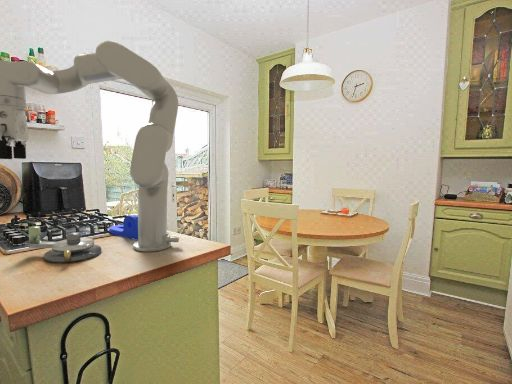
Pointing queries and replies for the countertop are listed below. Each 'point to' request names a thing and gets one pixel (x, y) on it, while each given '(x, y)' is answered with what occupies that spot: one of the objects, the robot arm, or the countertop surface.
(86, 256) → the post base
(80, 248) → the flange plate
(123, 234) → the bracket
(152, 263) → the countertop surface
